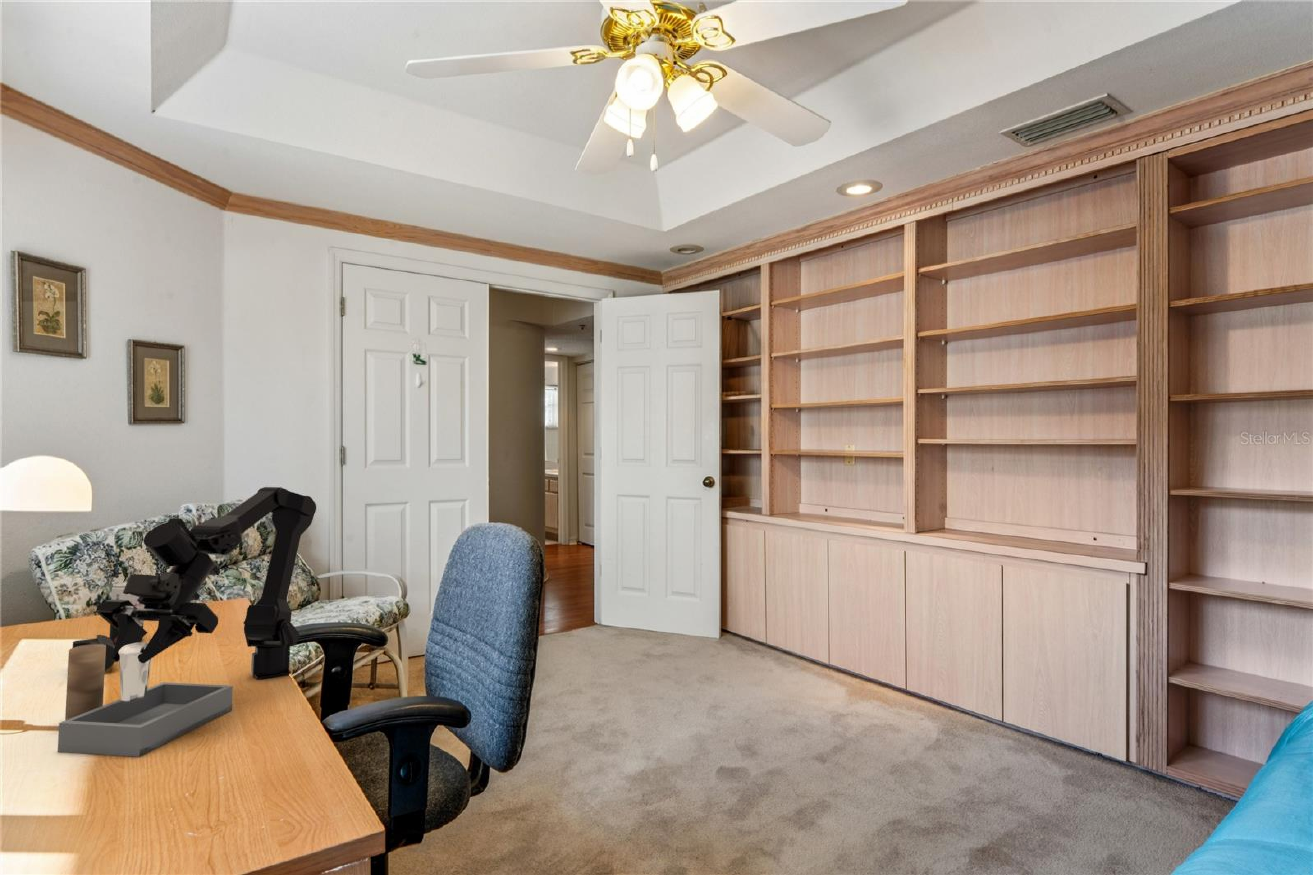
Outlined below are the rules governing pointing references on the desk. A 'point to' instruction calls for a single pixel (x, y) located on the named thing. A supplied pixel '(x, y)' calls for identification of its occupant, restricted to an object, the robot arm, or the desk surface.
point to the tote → (144, 720)
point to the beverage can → (119, 595)
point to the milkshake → (133, 672)
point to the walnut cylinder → (85, 679)
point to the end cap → (100, 640)
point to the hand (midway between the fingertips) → (127, 661)
